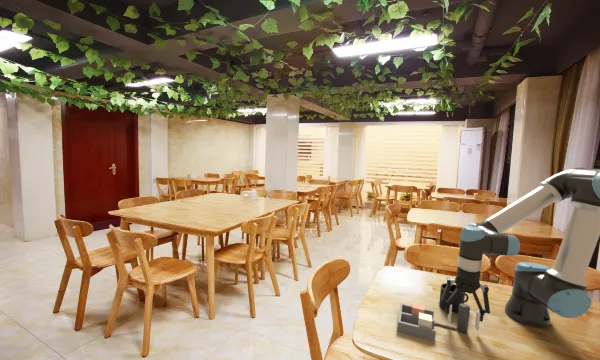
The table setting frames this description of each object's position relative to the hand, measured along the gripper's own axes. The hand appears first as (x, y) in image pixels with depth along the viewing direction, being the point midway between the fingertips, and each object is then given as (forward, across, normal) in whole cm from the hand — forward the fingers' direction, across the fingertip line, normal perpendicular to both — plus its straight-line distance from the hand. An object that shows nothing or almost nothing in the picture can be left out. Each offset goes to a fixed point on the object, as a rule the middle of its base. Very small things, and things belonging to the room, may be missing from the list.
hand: (462, 324), depth 111 cm
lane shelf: (+2, +16, +4) cm, 17 cm away
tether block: (+2, +8, 0) cm, 9 cm away
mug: (+3, +1, -18) cm, 18 cm away
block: (+2, +14, +7) cm, 15 cm away
